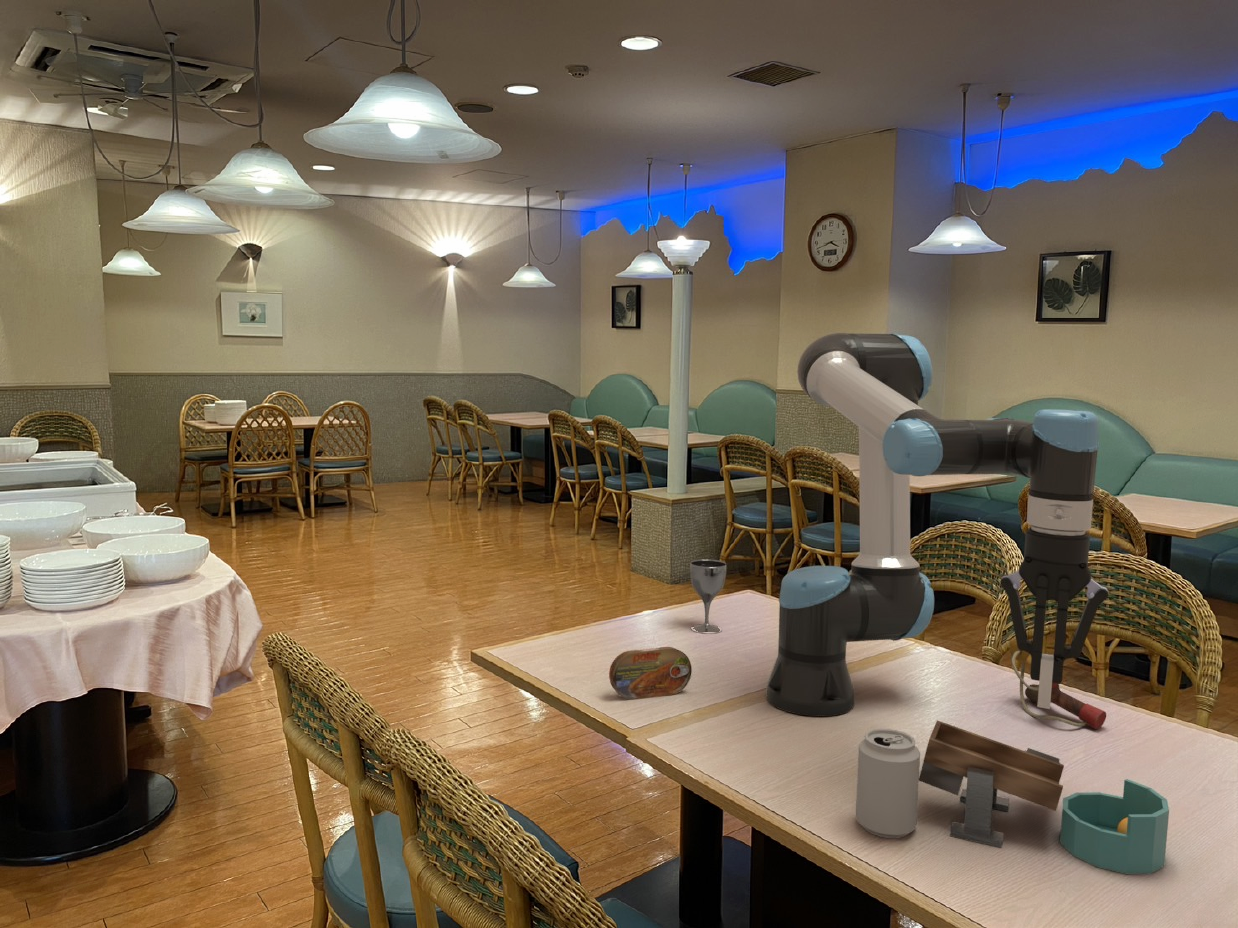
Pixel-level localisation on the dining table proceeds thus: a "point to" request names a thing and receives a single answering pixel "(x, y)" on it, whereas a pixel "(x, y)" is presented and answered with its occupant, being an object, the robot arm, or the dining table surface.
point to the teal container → (1096, 825)
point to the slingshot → (1055, 696)
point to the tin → (650, 673)
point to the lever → (990, 765)
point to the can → (887, 783)
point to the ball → (1122, 826)
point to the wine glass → (707, 586)
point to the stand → (980, 809)
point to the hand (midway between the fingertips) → (1043, 704)
